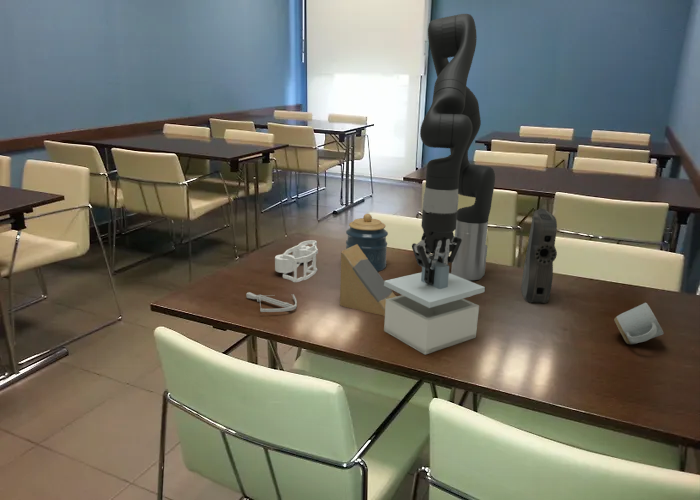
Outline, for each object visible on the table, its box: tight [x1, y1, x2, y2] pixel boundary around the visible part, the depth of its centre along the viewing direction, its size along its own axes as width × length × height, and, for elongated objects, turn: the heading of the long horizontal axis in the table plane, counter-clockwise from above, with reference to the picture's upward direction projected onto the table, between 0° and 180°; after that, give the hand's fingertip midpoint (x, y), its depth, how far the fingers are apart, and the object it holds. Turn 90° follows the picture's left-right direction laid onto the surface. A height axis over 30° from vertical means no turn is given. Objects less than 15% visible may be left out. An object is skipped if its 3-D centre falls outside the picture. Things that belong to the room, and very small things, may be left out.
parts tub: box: [383, 294, 480, 356], centre depth 126 cm, size 16×14×8 cm
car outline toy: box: [274, 239, 319, 283], centre depth 166 cm, size 20×11×7 cm, turn 157°
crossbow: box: [245, 291, 298, 313], centre depth 142 cm, size 16×13×2 cm
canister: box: [345, 213, 389, 273], centre depth 169 cm, size 13×13×18 cm
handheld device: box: [520, 208, 558, 304], centre depth 148 cm, size 6×15×25 cm, turn 176°
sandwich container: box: [339, 244, 397, 317], centre depth 140 cm, size 9×15×15 cm, turn 61°
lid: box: [384, 259, 486, 308], centre depth 123 cm, size 17×15×7 cm
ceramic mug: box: [613, 302, 664, 345], centre depth 123 cm, size 11×8×8 cm
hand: (434, 282), depth 123 cm, fingers closed on lid, 2 cm apart
